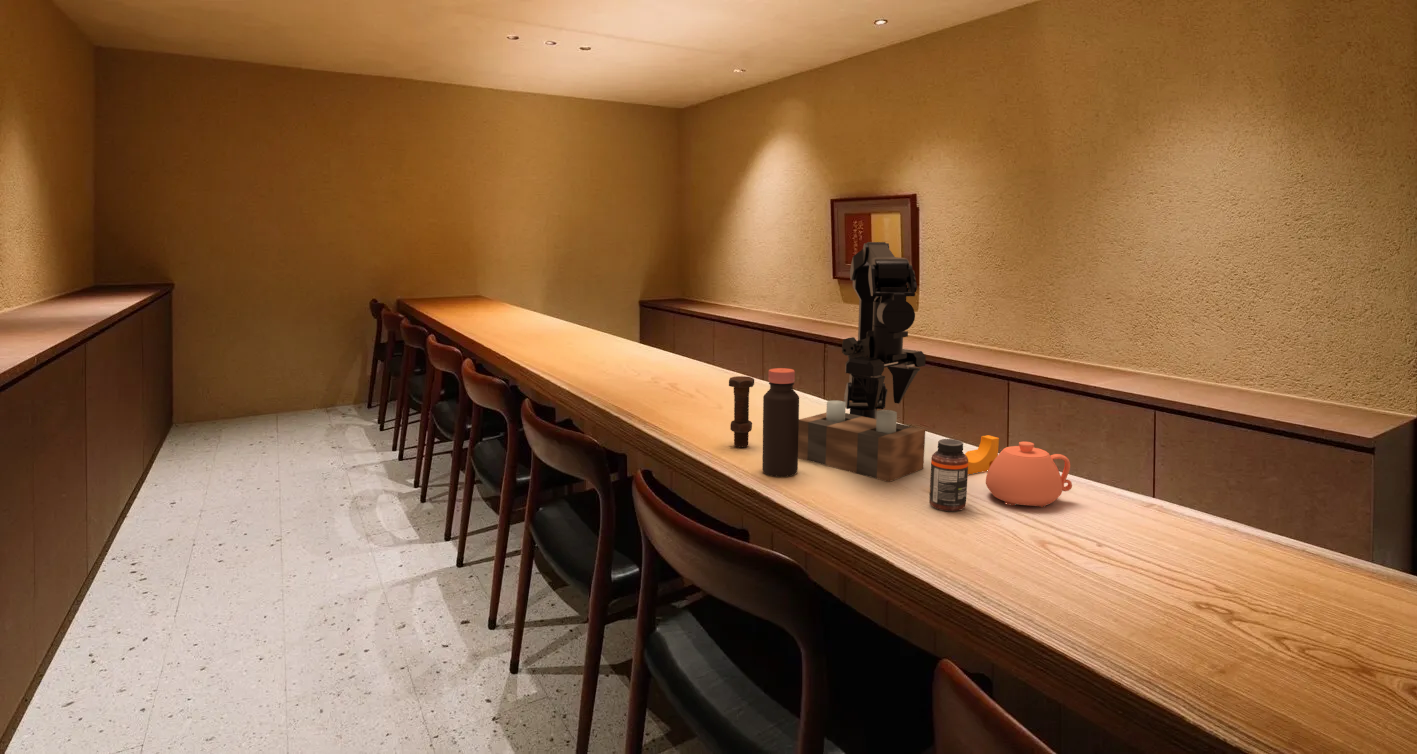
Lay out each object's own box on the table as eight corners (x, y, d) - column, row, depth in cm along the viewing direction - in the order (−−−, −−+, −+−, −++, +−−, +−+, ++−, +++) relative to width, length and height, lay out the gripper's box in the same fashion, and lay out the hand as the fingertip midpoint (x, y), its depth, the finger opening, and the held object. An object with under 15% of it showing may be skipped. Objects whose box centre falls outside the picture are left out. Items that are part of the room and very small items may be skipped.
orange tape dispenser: (979, 464, 154) (981, 433, 153) (996, 470, 150) (999, 438, 149) (935, 473, 148) (936, 440, 147) (951, 479, 144) (953, 446, 143)
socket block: (832, 446, 166) (833, 410, 165) (923, 468, 150) (925, 428, 149) (797, 457, 158) (797, 419, 156) (889, 482, 142) (890, 440, 141)
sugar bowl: (979, 486, 140) (983, 432, 138) (1060, 490, 138) (1065, 435, 136) (991, 509, 128) (995, 450, 126) (1081, 515, 126) (1086, 455, 124)
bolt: (750, 450, 163) (751, 381, 160) (727, 449, 164) (727, 380, 161) (754, 443, 169) (755, 376, 166) (731, 442, 170) (732, 375, 167)
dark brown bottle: (769, 465, 153) (771, 366, 149) (802, 469, 150) (804, 368, 146) (757, 474, 147) (758, 371, 143) (790, 479, 144) (792, 374, 140)
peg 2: (882, 443, 152) (883, 408, 150) (899, 447, 149) (900, 412, 148) (871, 447, 149) (872, 412, 148) (888, 451, 146) (889, 415, 145)
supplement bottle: (935, 498, 134) (939, 435, 132) (970, 504, 130) (974, 440, 128) (923, 507, 129) (927, 442, 127) (959, 515, 126) (963, 448, 123)
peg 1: (833, 432, 160) (834, 399, 159) (848, 435, 158) (849, 402, 156) (822, 435, 158) (822, 402, 156) (837, 439, 155) (838, 405, 154)
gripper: (880, 318, 157) (877, 393, 160) (823, 326, 144) (821, 407, 147) (928, 323, 149) (924, 401, 152) (873, 331, 136) (869, 416, 139)
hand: (884, 406), depth 148 cm, fingers open, 8 cm apart
